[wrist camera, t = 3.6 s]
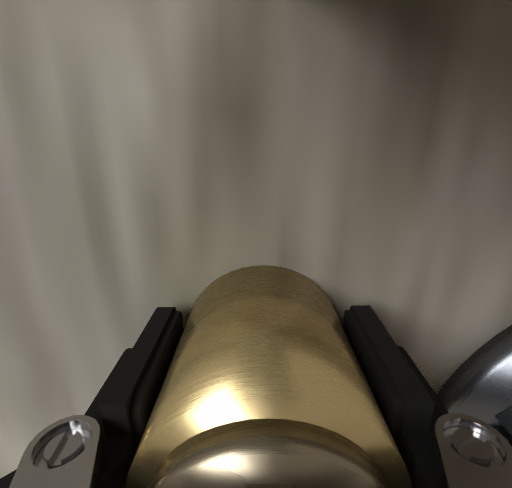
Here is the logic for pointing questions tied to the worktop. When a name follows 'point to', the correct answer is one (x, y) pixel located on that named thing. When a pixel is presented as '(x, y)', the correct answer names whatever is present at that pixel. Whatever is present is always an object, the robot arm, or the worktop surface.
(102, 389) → the robot arm
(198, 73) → the worktop surface
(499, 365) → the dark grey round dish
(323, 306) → the brass lock cylinder
